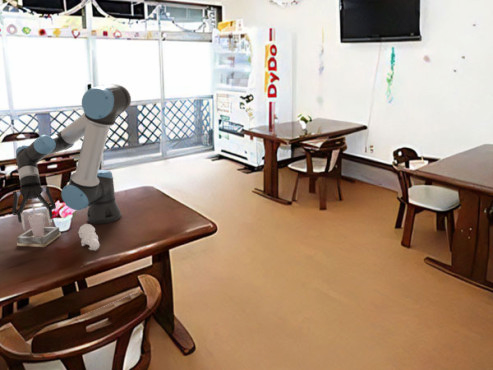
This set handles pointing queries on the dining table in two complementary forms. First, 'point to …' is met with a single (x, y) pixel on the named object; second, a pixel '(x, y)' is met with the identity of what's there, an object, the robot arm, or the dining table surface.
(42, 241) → the pocket plate
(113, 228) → the dining table surface
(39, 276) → the dining table surface
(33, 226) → the smoothie
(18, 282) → the dining table surface
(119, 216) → the robot arm
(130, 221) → the dining table surface
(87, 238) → the white lumpy figurine
